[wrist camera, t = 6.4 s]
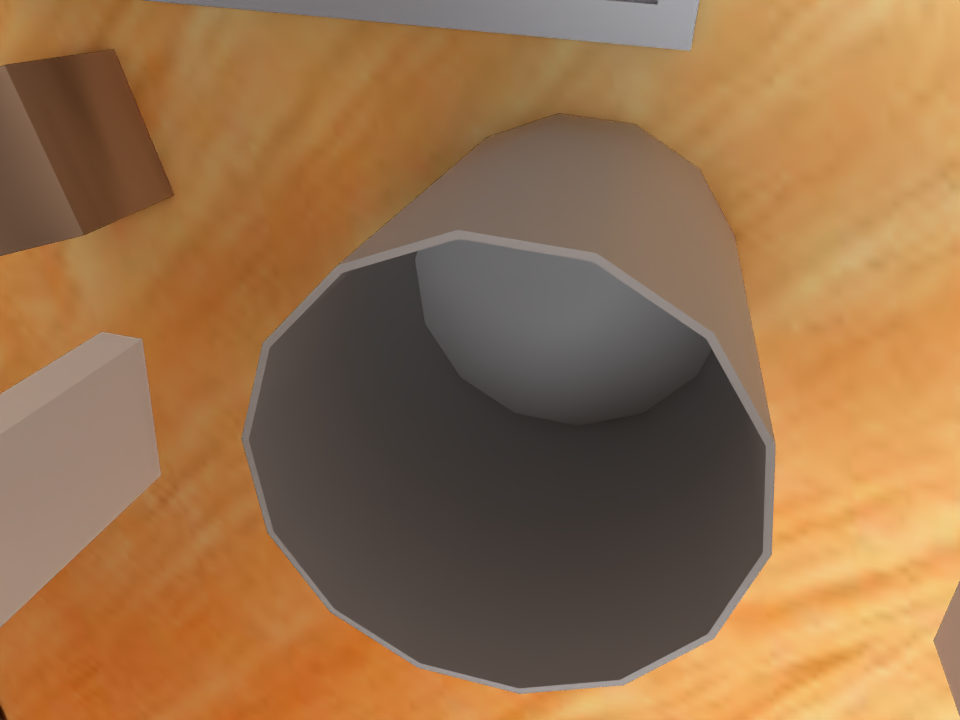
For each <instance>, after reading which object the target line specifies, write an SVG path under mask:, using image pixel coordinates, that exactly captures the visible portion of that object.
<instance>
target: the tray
mask: <svg viewBox="0 0 960 720" xmlns="http://www.w3.org/2000/svg"><path fill="white" fill-rule="evenodd" d="M146 1H157V2H168V3H179V4H189V5H200V6H211V7H222V8H233V9H244V10H254V11H265V12H276V13H287V14H298V15H308V16H319V17H330V18H341V19H352V20H363V21H373V22H384V23H395V24H406V25H417V26H428V27H438V28H449V29H460V30H471V31H482V32H493V33H503V34H514V35H525V36H536V37H547V38H557V39H568V40H579V41H590V42H601V43H612V44H622V45H633V46H644V47H655V48H666V49H677V50H687V51H691V45H692V40H693V34H694V28H695V22H696V16H697V11H698V5H699V0H146Z"/></svg>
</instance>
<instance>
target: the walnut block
mask: <svg viewBox="0 0 960 720" xmlns="http://www.w3.org/2000/svg"><path fill="white" fill-rule="evenodd" d="M173 195H174V193H173V191H172V189H171V186H170V184H169V181H168V179H167V176H166V174H165V172H164V169H163V167H162V164H161V162H160V160H159V157H158V155H157V152H156V150H155V147H154V145H153V143H152V140H151V138H150V135H149V133H148V130H147V128H146V126H145V123H144V121H143V118H142V116H141V114H140V111H139V109H138V106H137V104H136V101H135V99H134V97H133V94H132V92H131V89H130V87H129V85H128V82H127V80H126V77H125V75H124V72H123V70H122V68H121V65H120V63H119V60H118V58H117V55H116V53H115V51H114V49H113V50H106V51H99V52H92V53H84V54H77V55H70V56H63V57H56V58H49V59H42V60H35V61H28V62H21V63H14V64H7V65H3V66H0V256H2V255H6V254H10V253H14V252H18V251H22V250H26V249H30V248H34V247H39V246H43V245H47V244H51V243H55V242H59V241H63V240H67V239H71V238H75V237H79V236H83V235H86V234H88V233H90V232H92V231H95V230H97V229H99V228H101V227H104V226H106V225H108V224H110V223H112V222H115V221H117V220H119V219H121V218H124V217H126V216H128V215H130V214H133V213H135V212H137V211H139V210H142V209H144V208H146V207H148V206H151V205H153V204H155V203H157V202H160V201H162V200H164V199H166V198H169V197H171V196H173Z"/></svg>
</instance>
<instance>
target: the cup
mask: <svg viewBox="0 0 960 720" xmlns="http://www.w3.org/2000/svg"><path fill="white" fill-rule="evenodd" d="M242 442H243V446H244V449H245V453H246V457H247V460H248V464H249V468H250V471H251V475H252V478H253V482H254V486H255V489H256V493H257V496H258V500H259V504H260V507H261V511H262V515H263V518H264V522H265V525H266V529H267V533H268V534H269V535H270V536H271V538H272V539H273V540H274V542H275V543H276V544H277V545H278V547H279V548H280V549H281V550H282V552H283V553H284V554H285V555H286V557H287V558H288V559H289V561H290V562H291V563H292V564H293V566H294V567H295V568H296V569H297V571H298V572H299V573H300V574H301V576H302V577H303V578H304V580H305V581H306V582H307V583H308V585H309V586H310V587H311V588H312V590H313V591H314V592H315V593H316V595H317V596H318V597H319V599H320V600H321V601H322V602H323V604H324V605H325V606H326V607H327V609H328V610H329V611H330V612H331V613H333V614H334V615H336V616H337V617H339V618H340V619H342V620H344V621H345V622H347V623H348V624H350V625H351V626H353V627H355V628H356V629H358V630H359V631H361V632H363V633H364V634H366V635H367V636H369V637H370V638H372V639H374V640H375V641H377V642H378V643H380V644H381V645H383V646H385V647H386V648H388V649H389V650H391V651H392V652H394V653H396V654H397V655H399V656H400V657H402V658H403V659H405V660H407V661H408V662H410V663H411V664H413V665H414V666H416V667H418V668H421V669H425V670H429V671H433V672H437V673H441V674H445V675H449V676H452V677H456V678H460V679H464V680H468V681H472V682H476V683H480V684H484V685H488V686H491V687H495V688H499V689H503V690H507V691H511V692H515V693H519V694H523V693H535V692H547V691H559V690H571V689H583V688H596V687H608V686H620V685H625V684H627V683H629V682H631V681H633V680H635V679H636V678H638V677H640V676H642V675H644V674H646V673H648V672H650V671H652V670H654V669H656V668H658V667H660V666H662V665H664V664H666V663H667V662H669V661H671V660H673V659H675V658H677V657H679V656H681V655H683V654H685V653H687V652H689V651H691V650H693V649H695V648H697V647H698V646H700V645H702V644H704V643H706V642H708V641H710V640H712V639H714V638H715V636H716V635H717V633H718V632H719V630H720V629H721V628H722V626H723V625H724V623H725V622H726V620H727V619H728V617H729V616H730V614H731V613H732V612H733V610H734V609H735V607H736V606H737V604H738V603H739V601H740V600H741V598H742V597H743V596H744V594H745V593H746V591H747V590H748V588H749V587H750V585H751V584H752V582H753V581H754V579H755V578H756V577H757V575H758V574H759V572H760V571H761V569H762V568H763V566H764V565H765V563H766V562H767V561H768V559H769V558H770V556H771V555H772V528H773V500H774V472H775V440H774V434H773V429H772V424H771V419H770V414H769V409H768V404H767V399H766V394H765V389H764V383H763V378H762V373H761V368H760V363H759V358H758V353H757V348H756V343H755V338H754V332H753V327H752V322H751V317H750V312H749V307H748V302H747V297H746V292H745V287H744V281H743V276H742V271H741V266H740V261H739V256H738V251H737V246H736V241H735V235H734V233H733V232H732V230H731V228H730V226H729V224H728V222H727V220H726V218H725V216H724V214H723V212H722V211H721V209H720V207H719V205H718V203H717V201H716V199H715V197H714V195H713V193H712V191H711V190H710V188H709V186H708V184H707V182H706V180H705V178H704V176H703V174H702V172H701V170H700V169H699V168H698V167H696V166H695V165H693V164H692V163H690V162H689V161H688V160H686V159H685V158H683V157H682V156H680V155H679V154H678V153H676V152H675V151H673V150H672V149H670V148H669V147H667V146H666V145H665V144H663V143H662V142H660V141H659V140H657V139H656V138H655V137H653V136H652V135H650V134H649V133H647V132H646V131H645V130H643V129H642V128H640V127H639V126H637V125H636V124H630V123H623V122H616V121H609V120H602V119H595V118H588V117H581V116H574V115H567V114H560V113H558V114H555V115H552V116H549V117H546V118H543V119H540V120H537V121H534V122H531V123H528V124H525V125H522V126H519V127H516V128H513V129H510V130H507V131H504V132H501V133H498V134H495V135H492V136H489V137H487V138H486V139H484V140H483V141H482V142H481V143H480V144H479V145H477V146H476V147H475V148H474V149H473V150H472V151H470V152H469V153H468V154H467V155H466V156H465V157H463V158H462V159H461V160H460V161H459V162H458V163H456V164H455V165H454V166H453V167H452V168H451V169H449V170H448V171H447V172H446V173H445V174H443V175H442V176H441V177H440V178H439V179H438V180H436V181H435V182H434V183H433V184H432V185H431V186H429V187H428V188H427V189H426V190H425V191H424V192H422V193H421V194H420V195H419V196H418V197H417V198H415V199H414V200H413V201H412V202H411V203H410V204H408V205H407V206H406V207H405V208H404V209H403V210H401V211H400V212H399V213H398V214H397V215H396V216H394V217H393V218H392V219H391V220H390V221H389V222H387V223H386V224H385V225H384V226H383V227H382V228H380V229H379V230H378V231H377V232H376V233H375V234H373V235H372V236H371V237H370V238H369V239H368V240H366V241H365V242H364V243H363V244H362V245H361V246H359V247H358V248H357V249H356V250H355V251H354V252H352V253H351V254H350V255H349V256H348V257H346V258H345V259H344V260H343V261H342V262H341V263H339V264H338V265H337V266H336V267H335V268H334V269H333V270H332V271H331V272H330V273H329V275H328V276H327V277H326V278H325V279H324V280H323V281H322V282H321V283H320V284H319V285H318V286H317V287H316V288H315V289H314V290H313V291H312V292H311V293H310V294H309V295H308V296H307V297H306V298H305V300H304V301H303V302H302V303H301V304H300V305H299V306H298V307H297V308H296V309H295V310H294V311H293V312H292V313H291V314H290V315H289V316H288V317H287V318H286V319H285V320H284V321H283V322H282V323H281V325H280V326H279V327H278V328H277V329H276V330H275V331H274V332H273V333H272V334H271V335H270V336H269V337H268V338H267V339H266V340H265V341H264V342H263V344H262V349H261V353H260V358H259V362H258V367H257V371H256V376H255V380H254V385H253V389H252V394H251V398H250V403H249V407H248V412H247V416H246V421H245V425H244V430H243V434H242Z"/></svg>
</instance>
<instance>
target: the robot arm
mask: <svg viewBox="0 0 960 720" xmlns="http://www.w3.org/2000/svg"><path fill="white" fill-rule="evenodd" d="M160 476H161V471H160V463H159V456H158V449H157V441H156V434H155V427H154V420H153V412H152V405H151V398H150V390H149V383H148V376H147V369H146V361H145V354H144V347H143V339H140V338H134V337H129V336H123V335H118V334H112V333H107V332H100V333H99V334H97V335H96V336H94V337H92V338H91V339H89V340H87V341H86V342H84V343H82V344H81V345H79V346H78V347H76V348H74V349H73V350H71V351H69V352H68V353H66V354H65V355H63V356H61V357H60V358H58V359H56V360H55V361H53V362H52V363H50V364H48V365H47V366H45V367H43V368H42V369H40V370H38V371H37V372H35V373H34V374H32V375H30V376H29V377H27V378H25V379H24V380H22V381H21V382H19V383H17V384H16V385H14V386H12V387H11V388H9V389H7V390H6V391H4V392H3V393H1V394H0V627H1V626H3V625H4V624H5V623H6V622H7V621H8V620H9V619H10V618H11V617H12V616H13V615H14V614H15V613H16V612H17V611H18V610H19V609H20V608H22V607H23V606H24V605H25V604H26V603H27V602H28V601H29V600H30V599H31V598H32V597H33V596H34V595H35V594H36V593H37V592H38V591H39V590H41V589H42V588H43V587H44V586H45V585H46V584H47V583H48V582H49V581H50V580H51V579H52V578H53V577H54V576H55V575H56V574H57V573H58V572H60V571H61V570H62V569H63V568H64V567H65V566H66V565H67V564H68V563H69V562H70V561H71V560H72V559H73V558H74V557H75V556H76V555H77V554H79V553H80V552H81V551H82V550H83V549H84V548H85V547H86V546H87V545H88V544H89V543H90V542H91V541H92V540H93V539H94V538H95V537H96V536H98V535H99V534H100V533H101V532H102V531H103V530H104V529H105V528H106V527H107V526H108V525H109V524H110V523H111V522H112V521H113V520H114V519H115V518H117V517H118V516H119V515H120V514H121V513H122V512H123V511H124V510H125V509H126V508H127V507H128V506H129V505H130V504H131V503H132V502H133V501H134V500H136V499H137V498H138V497H139V496H140V495H141V494H142V493H143V492H144V491H145V490H146V489H147V488H148V487H149V486H150V485H151V484H152V483H153V482H155V481H156V480H157V479H158V478H159V477H160ZM934 643H935V646H936V649H937V652H938V655H939V658H940V661H941V664H942V666H943V669H944V672H945V675H946V678H947V681H948V684H949V687H950V690H951V692H952V695H953V698H954V701H955V704H956V707H957V710H958V713H959V716H960V581H959V584H958V586H957V588H956V591H955V593H954V595H953V597H952V600H951V602H950V604H949V606H948V609H947V611H946V613H945V616H944V618H943V620H942V622H941V625H940V627H939V629H938V631H937V634H936V636H935V638H934ZM0 720H2V719H1V716H0Z"/></svg>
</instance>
